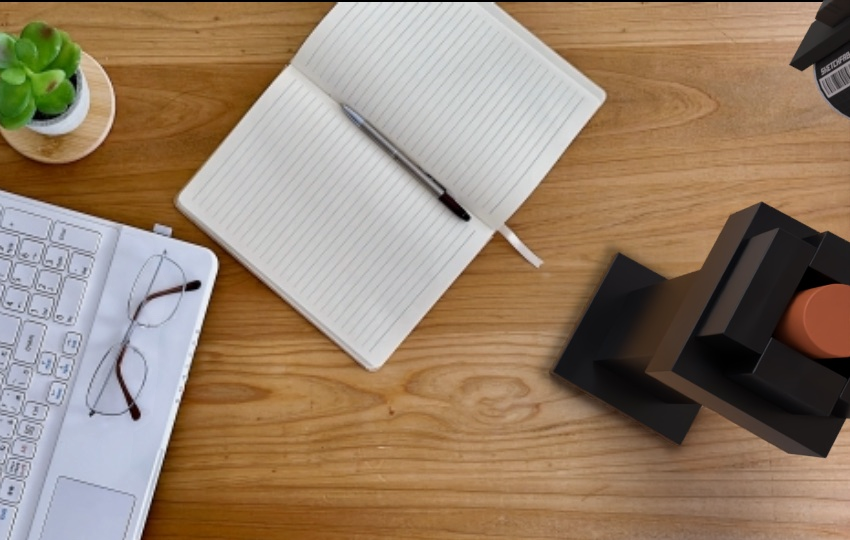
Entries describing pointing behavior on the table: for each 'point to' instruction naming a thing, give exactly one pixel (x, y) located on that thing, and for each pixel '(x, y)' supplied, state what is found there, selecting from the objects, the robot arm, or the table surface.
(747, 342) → the button post
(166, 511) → the table surface
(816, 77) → the beverage can
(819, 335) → the button
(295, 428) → the table surface
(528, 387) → the table surface
